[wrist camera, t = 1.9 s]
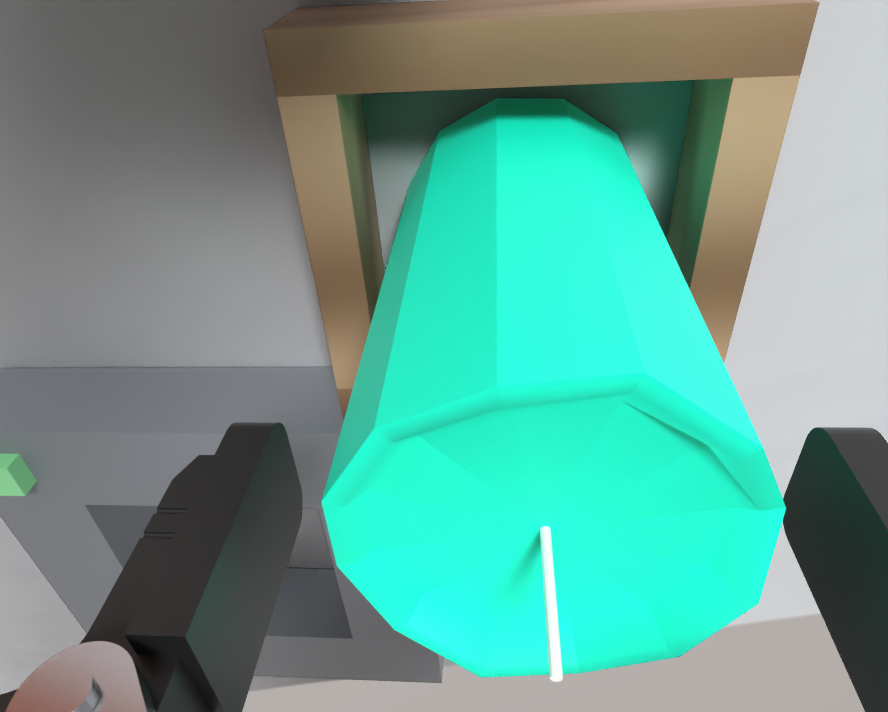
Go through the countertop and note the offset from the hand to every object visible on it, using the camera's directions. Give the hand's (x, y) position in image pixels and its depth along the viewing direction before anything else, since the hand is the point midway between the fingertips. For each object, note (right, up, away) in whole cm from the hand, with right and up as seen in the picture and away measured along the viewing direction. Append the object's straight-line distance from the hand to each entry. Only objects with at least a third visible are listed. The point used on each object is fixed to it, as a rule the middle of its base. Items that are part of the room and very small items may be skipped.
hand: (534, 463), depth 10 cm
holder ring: (+1, +5, +6) cm, 8 cm away
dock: (-9, -4, +15) cm, 17 cm away
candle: (+1, +5, +7) cm, 9 cm away
